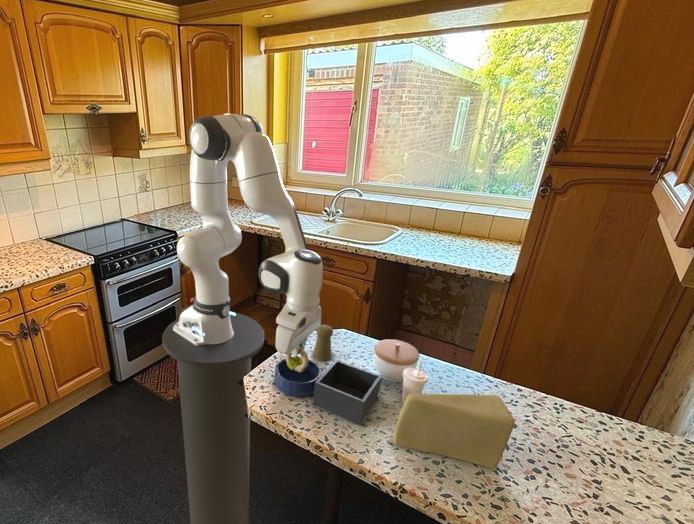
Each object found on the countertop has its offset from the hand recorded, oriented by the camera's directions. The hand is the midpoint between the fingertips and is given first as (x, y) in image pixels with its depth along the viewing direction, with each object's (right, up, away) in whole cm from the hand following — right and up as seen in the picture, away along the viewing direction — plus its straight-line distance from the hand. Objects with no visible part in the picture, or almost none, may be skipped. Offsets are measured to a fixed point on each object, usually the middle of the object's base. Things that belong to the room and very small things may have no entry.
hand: (297, 352), depth 115 cm
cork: (+11, -3, +18) cm, 21 cm away
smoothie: (+31, -14, -3) cm, 34 cm away
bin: (+13, -13, -3) cm, 19 cm away
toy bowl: (0, -10, +4) cm, 11 cm away
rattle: (+1, -5, +3) cm, 6 cm away
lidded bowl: (+30, -8, +8) cm, 32 cm away
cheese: (+32, -21, -18) cm, 43 cm away
